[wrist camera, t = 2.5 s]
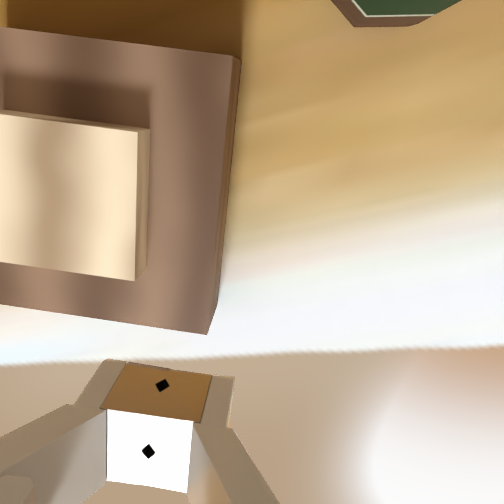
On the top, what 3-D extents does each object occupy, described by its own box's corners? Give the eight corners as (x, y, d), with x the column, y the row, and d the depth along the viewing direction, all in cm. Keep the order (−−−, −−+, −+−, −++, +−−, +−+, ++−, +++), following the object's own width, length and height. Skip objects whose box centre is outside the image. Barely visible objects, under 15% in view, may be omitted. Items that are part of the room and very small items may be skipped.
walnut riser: (241, 60, 25) (232, 55, 21) (217, 305, 30) (206, 334, 27) (7, 31, 25) (-43, 21, 22) (26, 277, 31) (-10, 302, 27)
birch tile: (150, 128, 23) (137, 132, 21) (145, 267, 25) (134, 281, 24) (3, 109, 23) (-22, 111, 21) (15, 248, 26) (-6, 260, 24)
